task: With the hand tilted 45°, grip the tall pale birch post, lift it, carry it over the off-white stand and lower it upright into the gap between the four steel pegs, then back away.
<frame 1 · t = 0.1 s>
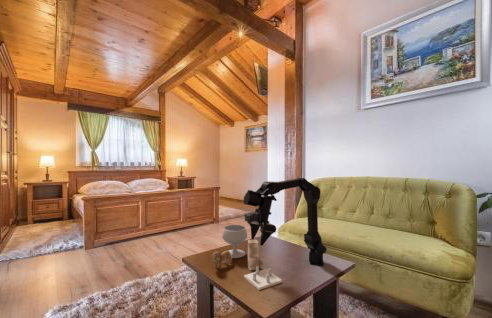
hand: (256, 242, 107), 15 cm above the table, tool pointing down, fingers open, 9 cm apart
lion figurine: (222, 267, 117), on the table
birch post: (253, 267, 115), on the table
peg stand: (262, 279, 103), on the table
chalice: (234, 254, 131), on the table
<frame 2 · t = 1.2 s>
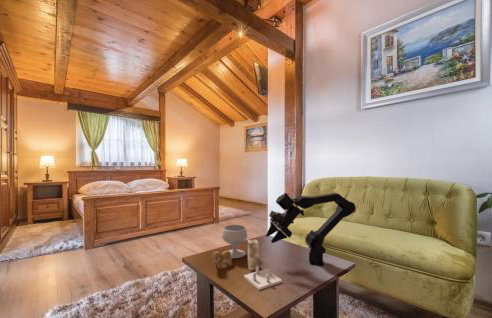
hand: (268, 239, 117), 14 cm above the table, tool tilted 45°, fingers open, 9 cm apart
nothing on the table moved.
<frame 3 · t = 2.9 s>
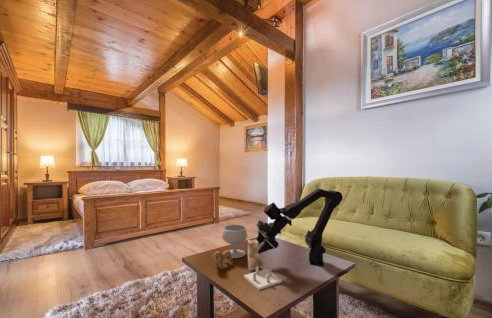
hand: (255, 249, 115), 9 cm above the table, tool tilted 45°, fingers open, 9 cm apart
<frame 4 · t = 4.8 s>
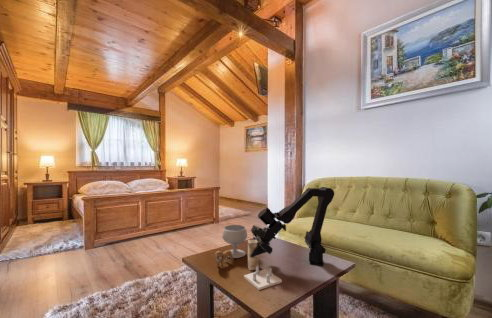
hand: (250, 254, 115), 7 cm above the table, tool tilted 45°, fingers closed on birch post, 4 cm apart
birch post: (253, 267, 115), on the table, touching gripper
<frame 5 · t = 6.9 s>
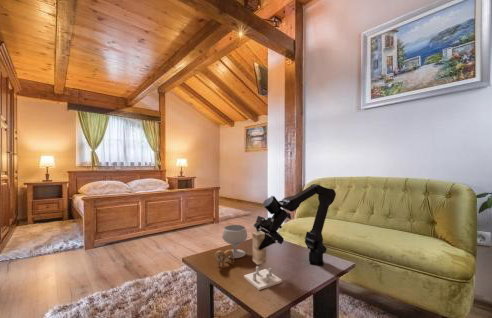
hand: (256, 247, 106), 13 cm above the table, tool tilted 45°, fingers closed on birch post, 4 cm apart
birch post: (259, 261, 106), point 7 cm above the table, touching gripper
when the fingers open (9 cm above the table, at t = 9.0 s): birch post drops 1 cm, resting on peg stand.
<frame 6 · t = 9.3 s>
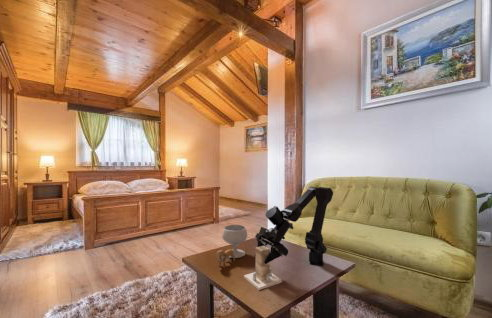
hand: (259, 260, 103), 9 cm above the table, tool tilted 45°, fingers open, 7 cm apart
birch post: (262, 277, 103), point 1 cm above the table, touching peg stand
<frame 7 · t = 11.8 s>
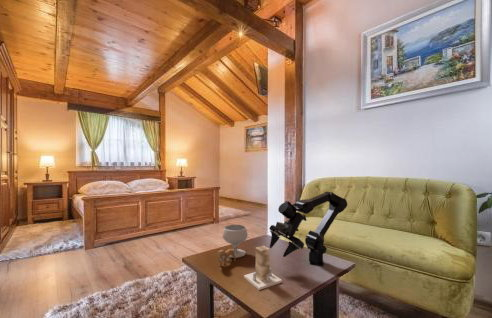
hand: (276, 252, 110), 10 cm above the table, tool tilted 40°, fingers open, 9 cm apart
lion figurine: (226, 264, 119), on the table, touching chalice
chalice: (235, 254, 132), on the table, touching lion figurine
everything else where it was.
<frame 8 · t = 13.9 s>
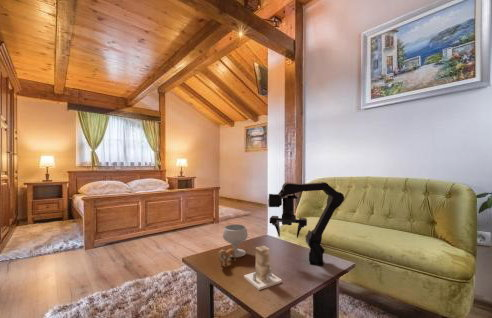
hand: (288, 237, 121), 13 cm above the table, tool pointing down, fingers open, 9 cm apart
lion figurine: (227, 264, 119), on the table
chalice: (235, 254, 132), on the table
everything else where it was.
at the end: birch post 0.0 cm off-centre on the peg stand, point 1.0 cm above the peg stand's base; birch post tilted 0°; the gripper is holding nothing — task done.
